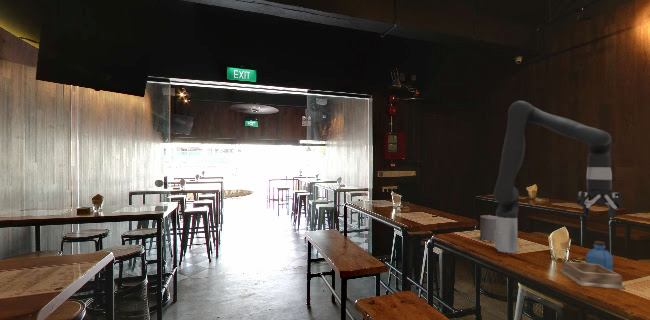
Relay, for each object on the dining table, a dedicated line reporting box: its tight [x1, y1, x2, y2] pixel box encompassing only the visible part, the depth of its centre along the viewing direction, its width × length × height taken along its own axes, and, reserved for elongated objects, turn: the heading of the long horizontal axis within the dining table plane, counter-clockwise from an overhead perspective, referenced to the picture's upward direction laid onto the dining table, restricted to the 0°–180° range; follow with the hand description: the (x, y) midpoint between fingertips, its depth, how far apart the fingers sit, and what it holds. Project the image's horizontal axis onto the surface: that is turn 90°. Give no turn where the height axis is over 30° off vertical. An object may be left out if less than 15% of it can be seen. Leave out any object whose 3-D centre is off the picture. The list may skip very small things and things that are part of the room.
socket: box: [560, 261, 626, 290], centre depth 107 cm, size 13×13×4 cm
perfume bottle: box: [585, 240, 614, 272], centre depth 117 cm, size 6×6×12 cm
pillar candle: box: [479, 214, 496, 241], centre depth 162 cm, size 10×10×15 cm
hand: (599, 217), depth 117 cm, fingers open, 8 cm apart
